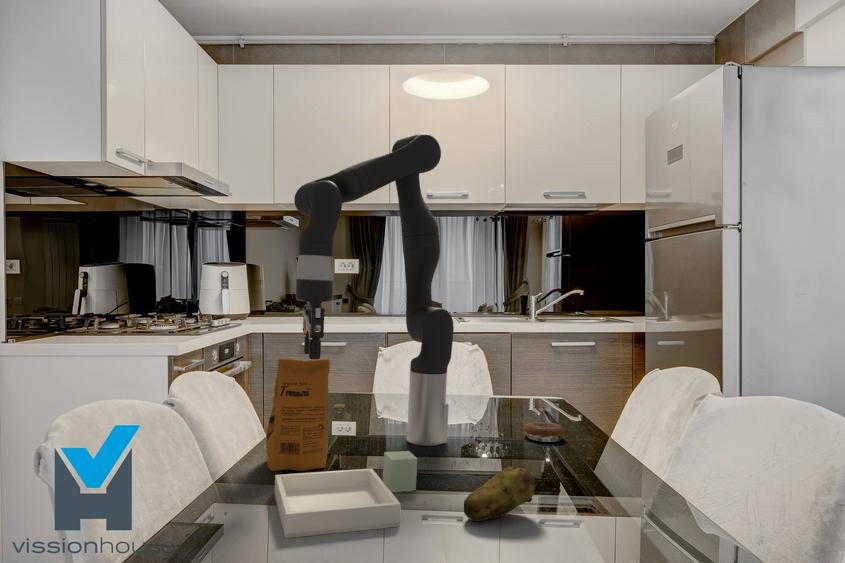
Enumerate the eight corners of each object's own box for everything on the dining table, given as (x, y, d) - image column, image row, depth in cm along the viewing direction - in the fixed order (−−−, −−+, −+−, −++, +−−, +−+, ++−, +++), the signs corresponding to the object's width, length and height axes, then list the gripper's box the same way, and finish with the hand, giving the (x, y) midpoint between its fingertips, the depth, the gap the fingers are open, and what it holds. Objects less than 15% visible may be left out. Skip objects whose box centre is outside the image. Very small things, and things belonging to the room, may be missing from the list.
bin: (371, 487, 104) (372, 468, 104) (399, 526, 87) (400, 503, 87) (274, 494, 98) (275, 474, 98) (285, 538, 81) (286, 514, 81)
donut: (547, 447, 138) (548, 431, 138) (514, 437, 146) (515, 422, 146) (572, 441, 145) (573, 426, 145) (539, 432, 153) (540, 417, 153)
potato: (454, 507, 96) (456, 461, 96) (525, 506, 98) (527, 461, 98) (466, 528, 88) (469, 477, 88) (543, 526, 90) (546, 477, 90)
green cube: (407, 481, 108) (408, 450, 108) (415, 490, 103) (417, 458, 103) (382, 483, 106) (384, 452, 106) (390, 493, 102) (391, 460, 102)
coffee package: (266, 457, 118) (271, 354, 119) (325, 456, 121) (330, 355, 122) (263, 473, 109) (269, 360, 109) (327, 471, 112) (333, 362, 112)
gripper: (338, 278, 109) (335, 361, 109) (327, 279, 123) (324, 352, 123) (300, 277, 107) (296, 361, 107) (293, 277, 120) (290, 352, 120)
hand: (311, 356), depth 115 cm, fingers open, 8 cm apart
